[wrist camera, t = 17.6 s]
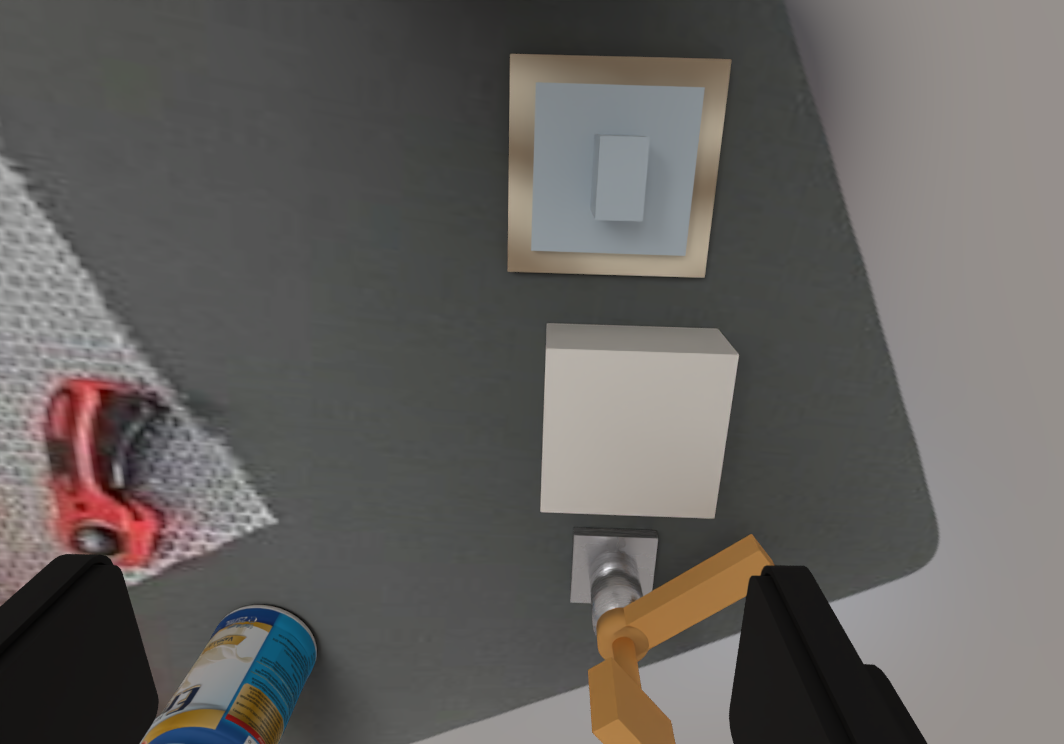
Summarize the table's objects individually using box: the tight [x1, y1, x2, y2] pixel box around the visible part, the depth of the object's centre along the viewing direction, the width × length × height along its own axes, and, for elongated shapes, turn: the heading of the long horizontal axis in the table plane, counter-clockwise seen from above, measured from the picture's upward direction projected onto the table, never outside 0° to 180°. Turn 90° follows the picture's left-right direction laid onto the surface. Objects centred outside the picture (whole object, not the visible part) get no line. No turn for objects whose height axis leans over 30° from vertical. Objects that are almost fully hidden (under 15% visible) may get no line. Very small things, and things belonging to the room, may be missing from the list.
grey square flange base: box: [570, 527, 658, 636], centre depth 45 cm, size 6×6×6 cm
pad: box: [508, 54, 732, 278], centre depth 38 cm, size 12×12×1 cm
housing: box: [540, 323, 739, 519], centre depth 41 cm, size 11×11×5 cm
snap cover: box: [531, 82, 705, 256], centre depth 34 cm, size 9×9×6 cm
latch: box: [588, 534, 774, 744], centre depth 36 cm, size 12×6×9 cm, turn 128°
